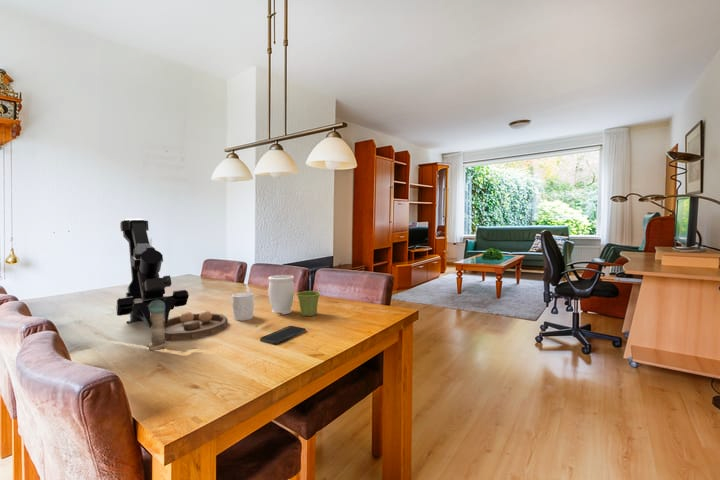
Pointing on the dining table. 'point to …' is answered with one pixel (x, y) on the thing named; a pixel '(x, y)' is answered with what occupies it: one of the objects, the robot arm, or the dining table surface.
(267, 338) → the phone
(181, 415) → the dining table surface
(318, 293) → the plant pot
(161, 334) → the bead post
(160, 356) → the dining table surface
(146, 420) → the dining table surface
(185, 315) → the loose bead
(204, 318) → the loose bead
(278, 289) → the jar
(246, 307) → the white cup
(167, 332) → the walnut tray
